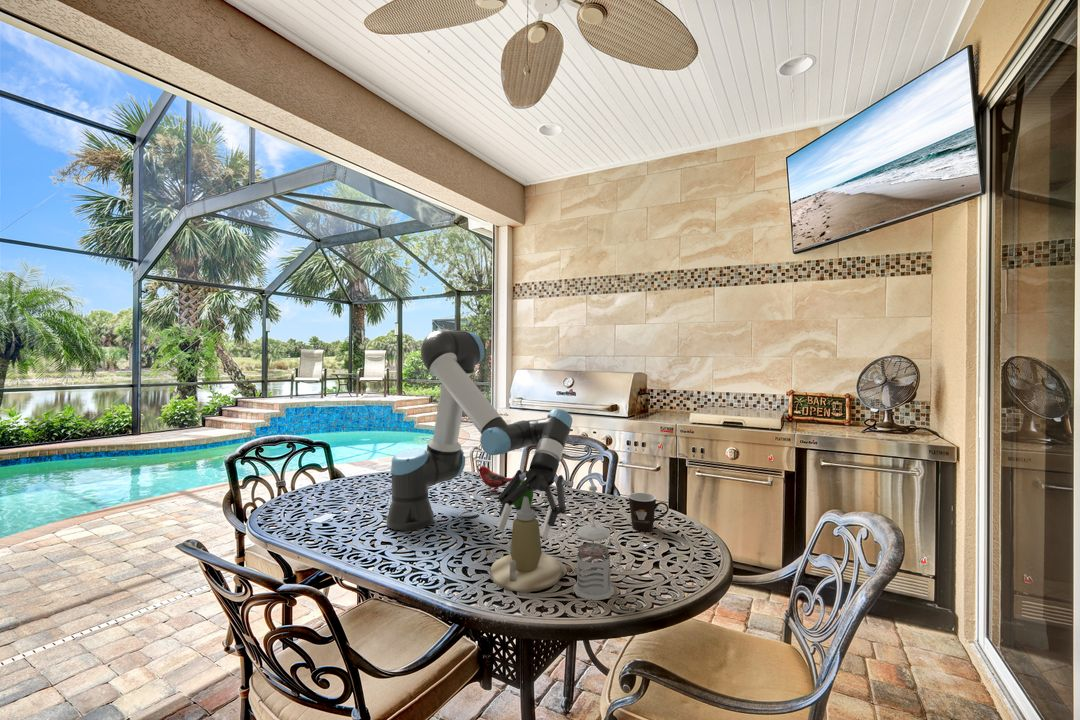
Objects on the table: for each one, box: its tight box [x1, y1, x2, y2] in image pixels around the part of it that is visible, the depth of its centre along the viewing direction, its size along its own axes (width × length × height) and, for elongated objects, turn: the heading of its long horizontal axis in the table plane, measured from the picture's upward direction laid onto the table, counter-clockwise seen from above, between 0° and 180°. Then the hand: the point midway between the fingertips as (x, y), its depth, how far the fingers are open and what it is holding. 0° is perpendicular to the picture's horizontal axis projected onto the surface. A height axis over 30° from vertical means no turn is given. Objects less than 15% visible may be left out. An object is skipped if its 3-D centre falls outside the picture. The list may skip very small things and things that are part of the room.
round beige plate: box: [490, 553, 563, 593], centre depth 121 cm, size 18×18×6 cm
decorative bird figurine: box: [477, 465, 514, 492], centre depth 189 cm, size 3×18×10 cm, turn 75°
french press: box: [572, 484, 623, 601], centre depth 112 cm, size 10×12×25 cm
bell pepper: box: [512, 481, 534, 509], centre depth 172 cm, size 8×8×10 cm
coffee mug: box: [628, 492, 669, 533], centre depth 149 cm, size 12×9×10 cm
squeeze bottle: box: [509, 497, 543, 572], centre depth 121 cm, size 8×8×18 cm
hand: (521, 533), depth 118 cm, fingers open, 11 cm apart
